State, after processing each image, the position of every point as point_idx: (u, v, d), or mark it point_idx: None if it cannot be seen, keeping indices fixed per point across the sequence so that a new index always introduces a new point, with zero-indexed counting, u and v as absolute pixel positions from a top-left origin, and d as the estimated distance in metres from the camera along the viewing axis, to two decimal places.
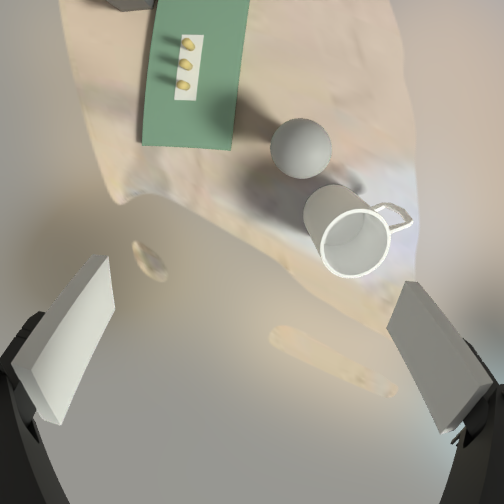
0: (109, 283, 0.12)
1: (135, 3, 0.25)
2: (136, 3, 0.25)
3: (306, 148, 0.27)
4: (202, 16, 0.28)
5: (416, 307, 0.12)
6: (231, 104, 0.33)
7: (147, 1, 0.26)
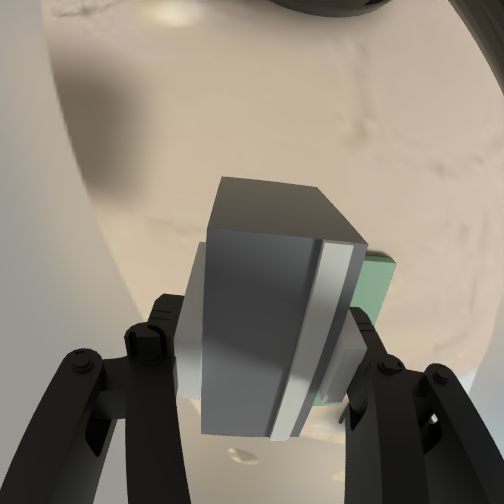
0: None
1: None
2: None
3: None
4: None
5: None
6: None
7: None
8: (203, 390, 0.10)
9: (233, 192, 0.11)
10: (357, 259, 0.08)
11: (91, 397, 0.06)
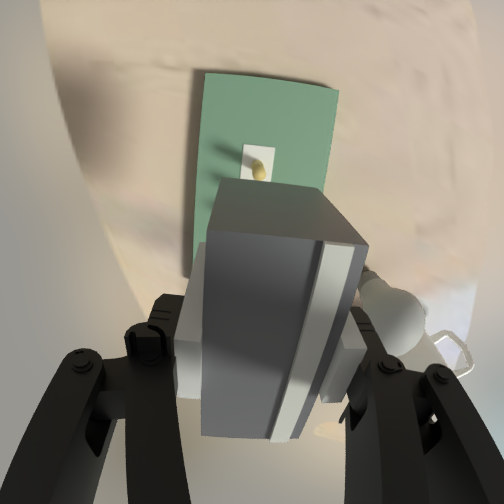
0: None
1: None
2: None
3: (405, 342, 0.22)
4: (272, 116, 0.24)
5: None
6: None
7: None
8: (203, 392, 0.10)
9: (233, 193, 0.11)
10: (358, 261, 0.08)
11: (91, 397, 0.06)
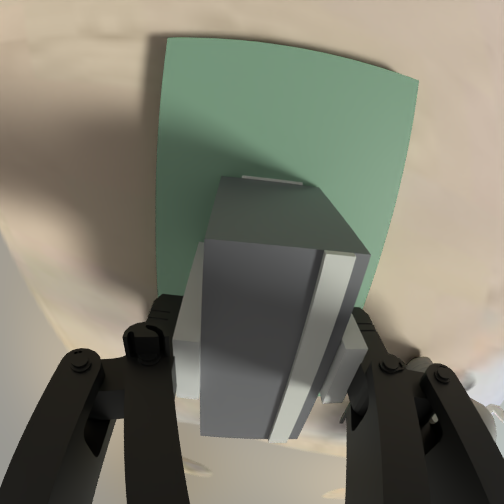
0: None
1: None
2: None
3: None
4: (299, 121, 0.12)
5: None
6: None
7: None
8: (202, 395, 0.10)
9: (232, 195, 0.11)
10: (359, 270, 0.08)
11: (89, 397, 0.06)
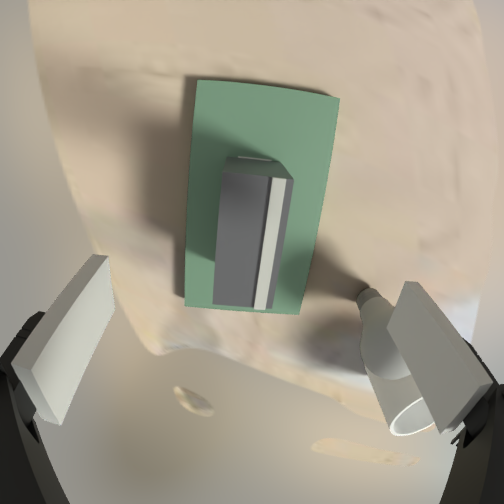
0: (109, 283, 0.12)
1: None
2: None
3: None
4: (269, 126, 0.22)
5: (416, 307, 0.12)
6: (305, 262, 0.27)
7: None
8: (216, 264, 0.20)
9: (233, 162, 0.21)
10: (289, 186, 0.18)
11: None
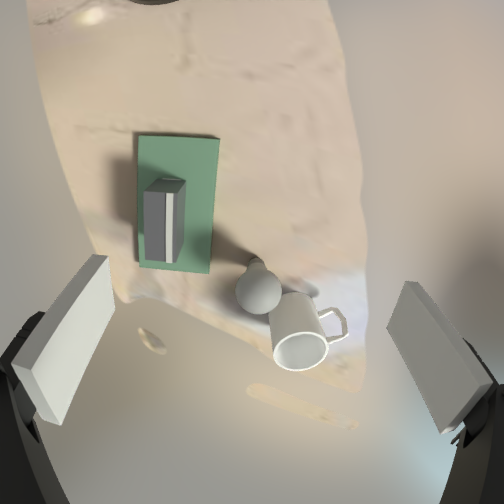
0: (109, 283, 0.12)
1: None
2: None
3: (259, 302, 0.38)
4: (178, 160, 0.40)
5: (416, 307, 0.12)
6: (207, 239, 0.45)
7: (180, 248, 0.43)
8: (144, 237, 0.38)
9: (155, 183, 0.38)
10: (175, 197, 0.36)
11: None
